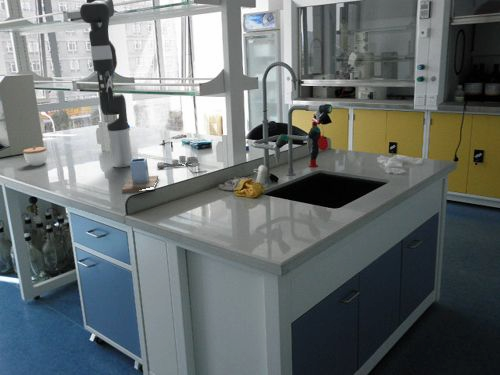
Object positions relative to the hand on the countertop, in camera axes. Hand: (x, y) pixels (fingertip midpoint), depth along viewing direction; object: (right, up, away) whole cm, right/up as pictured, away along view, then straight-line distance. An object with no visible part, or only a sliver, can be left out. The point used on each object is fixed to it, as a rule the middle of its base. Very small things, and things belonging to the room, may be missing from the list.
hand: (108, 100), depth 182 cm
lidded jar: (-51, -23, +50) cm, 75 cm away
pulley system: (+27, -26, +26) cm, 46 cm away
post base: (+13, -34, +1) cm, 36 cm away
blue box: (+13, -32, 0) cm, 35 cm away
